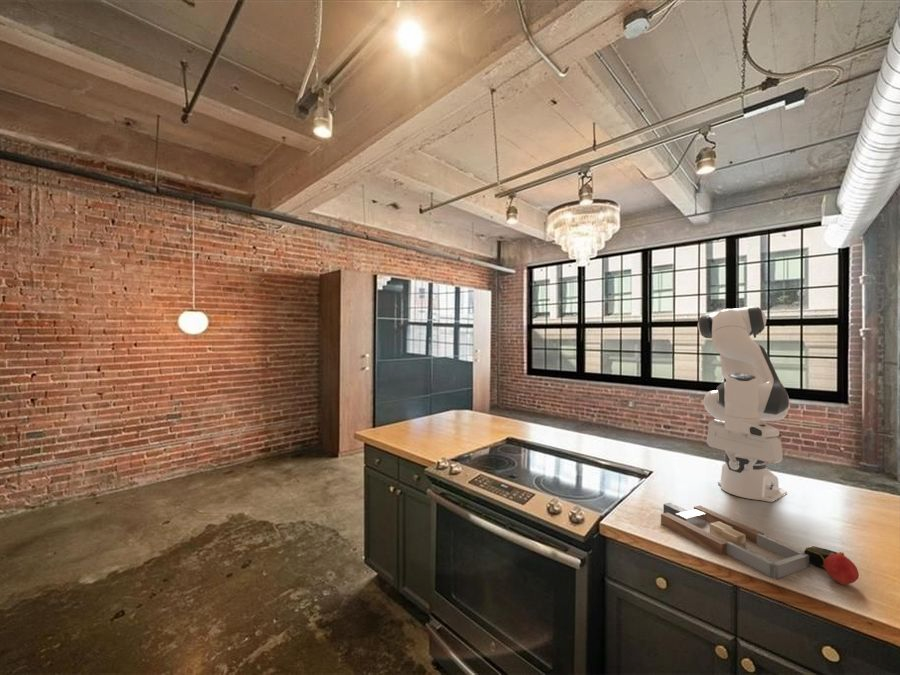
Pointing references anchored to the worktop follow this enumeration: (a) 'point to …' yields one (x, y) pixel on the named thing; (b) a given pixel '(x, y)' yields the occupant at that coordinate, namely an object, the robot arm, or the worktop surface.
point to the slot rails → (706, 537)
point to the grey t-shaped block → (686, 514)
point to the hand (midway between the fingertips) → (741, 468)
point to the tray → (773, 569)
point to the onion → (841, 568)
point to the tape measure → (818, 555)
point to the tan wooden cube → (718, 528)
